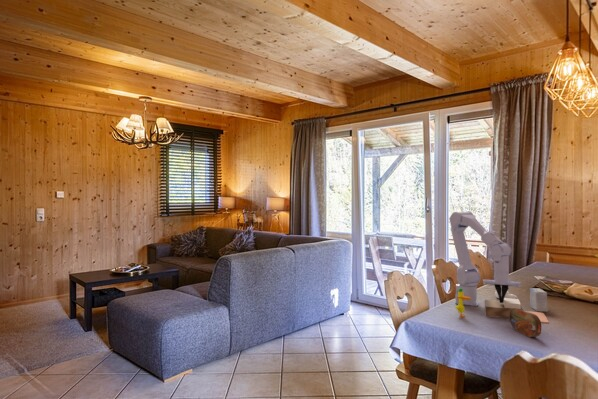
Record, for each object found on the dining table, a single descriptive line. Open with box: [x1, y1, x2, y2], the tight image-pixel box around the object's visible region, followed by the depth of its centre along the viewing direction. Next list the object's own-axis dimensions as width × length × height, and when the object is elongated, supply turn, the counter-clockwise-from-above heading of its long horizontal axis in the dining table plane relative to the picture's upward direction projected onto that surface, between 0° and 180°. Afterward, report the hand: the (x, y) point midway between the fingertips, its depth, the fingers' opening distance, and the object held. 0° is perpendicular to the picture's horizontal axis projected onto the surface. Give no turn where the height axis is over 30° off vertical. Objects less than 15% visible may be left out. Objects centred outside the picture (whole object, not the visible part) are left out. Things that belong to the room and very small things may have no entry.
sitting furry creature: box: [494, 287, 518, 299], centre depth 195 cm, size 10×9×12 cm
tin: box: [509, 308, 542, 338], centre depth 146 cm, size 15×3×8 cm, turn 5°
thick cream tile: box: [503, 298, 522, 309], centre depth 168 cm, size 6×9×2 cm, turn 155°
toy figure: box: [454, 288, 471, 318], centre depth 166 cm, size 7×4×12 cm, turn 54°
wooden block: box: [484, 299, 523, 319], centre depth 169 cm, size 14×12×4 cm
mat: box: [527, 310, 550, 324], centre depth 164 cm, size 9×14×1 cm, turn 156°
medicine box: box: [529, 287, 548, 313], centre depth 176 cm, size 8×4×9 cm, turn 168°
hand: (501, 302), depth 169 cm, fingers closed
